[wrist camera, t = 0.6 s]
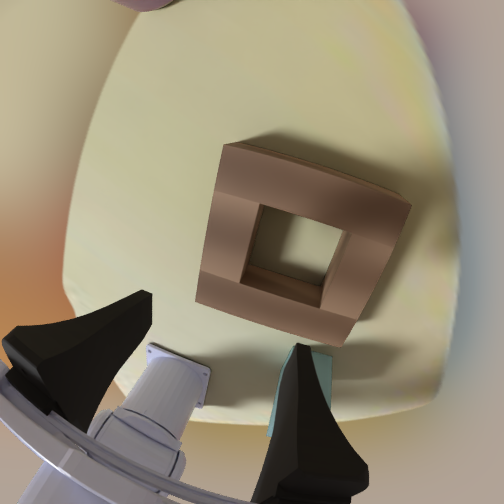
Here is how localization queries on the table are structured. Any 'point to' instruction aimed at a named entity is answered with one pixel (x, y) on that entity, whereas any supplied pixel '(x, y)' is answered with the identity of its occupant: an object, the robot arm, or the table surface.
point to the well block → (309, 206)
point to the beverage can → (144, 4)
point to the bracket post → (324, 375)
